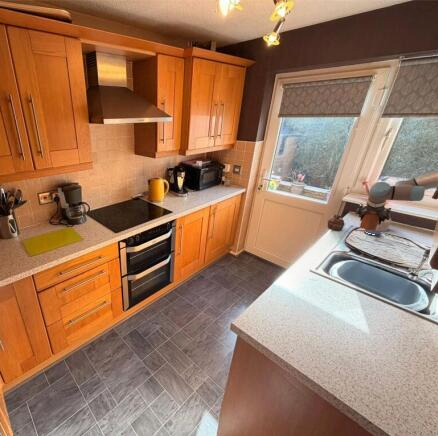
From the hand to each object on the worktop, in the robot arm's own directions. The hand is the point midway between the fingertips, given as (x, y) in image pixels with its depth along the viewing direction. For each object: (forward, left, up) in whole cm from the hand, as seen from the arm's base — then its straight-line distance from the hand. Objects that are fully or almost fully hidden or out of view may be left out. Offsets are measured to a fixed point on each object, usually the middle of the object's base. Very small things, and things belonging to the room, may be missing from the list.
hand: (370, 220), depth 147 cm
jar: (-2, +3, -4) cm, 5 cm away
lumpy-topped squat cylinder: (+13, -22, -12) cm, 28 cm away
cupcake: (+14, +9, -12) cm, 20 cm away
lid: (+4, -9, -10) cm, 14 cm away
